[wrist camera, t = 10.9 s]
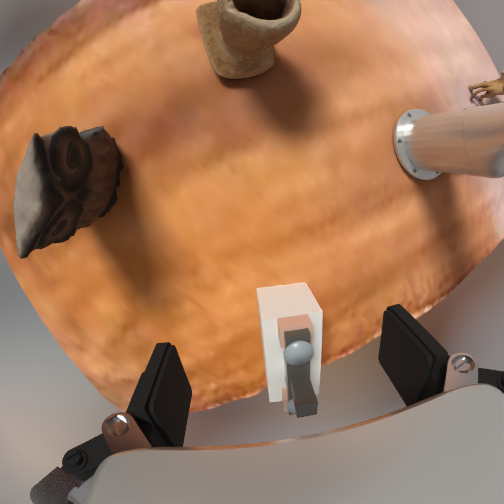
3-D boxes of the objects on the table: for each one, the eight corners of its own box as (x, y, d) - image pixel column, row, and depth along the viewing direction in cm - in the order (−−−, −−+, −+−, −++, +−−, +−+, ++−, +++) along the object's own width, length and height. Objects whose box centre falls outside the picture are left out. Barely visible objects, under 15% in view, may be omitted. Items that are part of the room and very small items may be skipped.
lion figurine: (487, 72, 32) (512, 67, 24) (497, 92, 34) (522, 89, 25) (463, 88, 34) (492, 82, 26) (474, 111, 36) (503, 108, 27)
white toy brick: (305, 282, 44) (328, 321, 32) (306, 358, 48) (322, 405, 36) (256, 288, 44) (263, 330, 32) (264, 364, 48) (271, 413, 36)
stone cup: (292, 72, 34) (319, 28, 20) (214, 87, 34) (202, 44, 20) (267, 2, 30) (279, -52, 15) (196, 14, 30) (181, -39, 16)
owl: (117, 127, 35) (37, 105, 16) (147, 198, 39) (77, 223, 19) (61, 167, 36) (-25, 176, 17) (88, 232, 39) (9, 275, 20)
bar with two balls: (306, 319, 34) (325, 361, 25) (306, 396, 38) (318, 438, 30) (279, 323, 34) (290, 367, 25) (284, 400, 38) (292, 443, 30)
